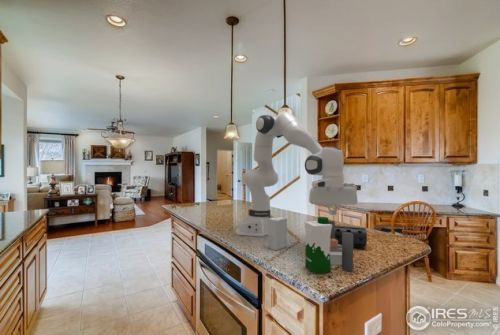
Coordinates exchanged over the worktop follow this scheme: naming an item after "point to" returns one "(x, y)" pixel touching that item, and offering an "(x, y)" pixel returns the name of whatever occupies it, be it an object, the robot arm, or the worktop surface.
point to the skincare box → (277, 233)
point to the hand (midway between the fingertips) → (332, 214)
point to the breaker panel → (336, 256)
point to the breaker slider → (334, 243)
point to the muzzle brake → (358, 235)
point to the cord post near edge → (347, 251)
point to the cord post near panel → (332, 229)
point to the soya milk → (318, 245)
